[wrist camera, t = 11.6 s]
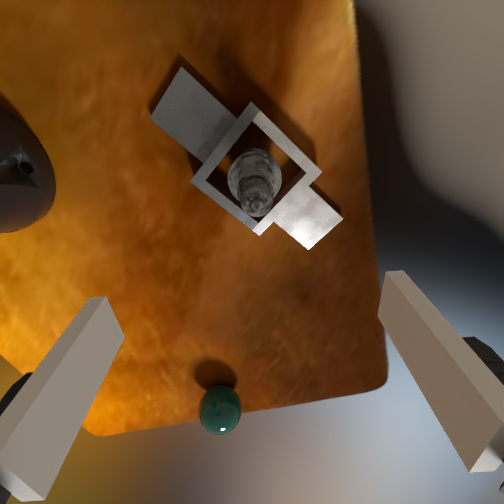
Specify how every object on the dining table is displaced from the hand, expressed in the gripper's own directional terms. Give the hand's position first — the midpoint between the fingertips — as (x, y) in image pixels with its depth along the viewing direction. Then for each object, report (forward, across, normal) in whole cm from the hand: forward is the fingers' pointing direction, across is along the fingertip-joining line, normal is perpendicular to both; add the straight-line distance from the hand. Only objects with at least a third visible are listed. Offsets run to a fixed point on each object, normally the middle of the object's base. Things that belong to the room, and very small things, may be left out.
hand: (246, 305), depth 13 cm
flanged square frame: (+23, +1, +1) cm, 23 cm away
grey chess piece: (+23, +1, +1) cm, 23 cm away
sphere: (+23, -9, -41) cm, 48 cm away
